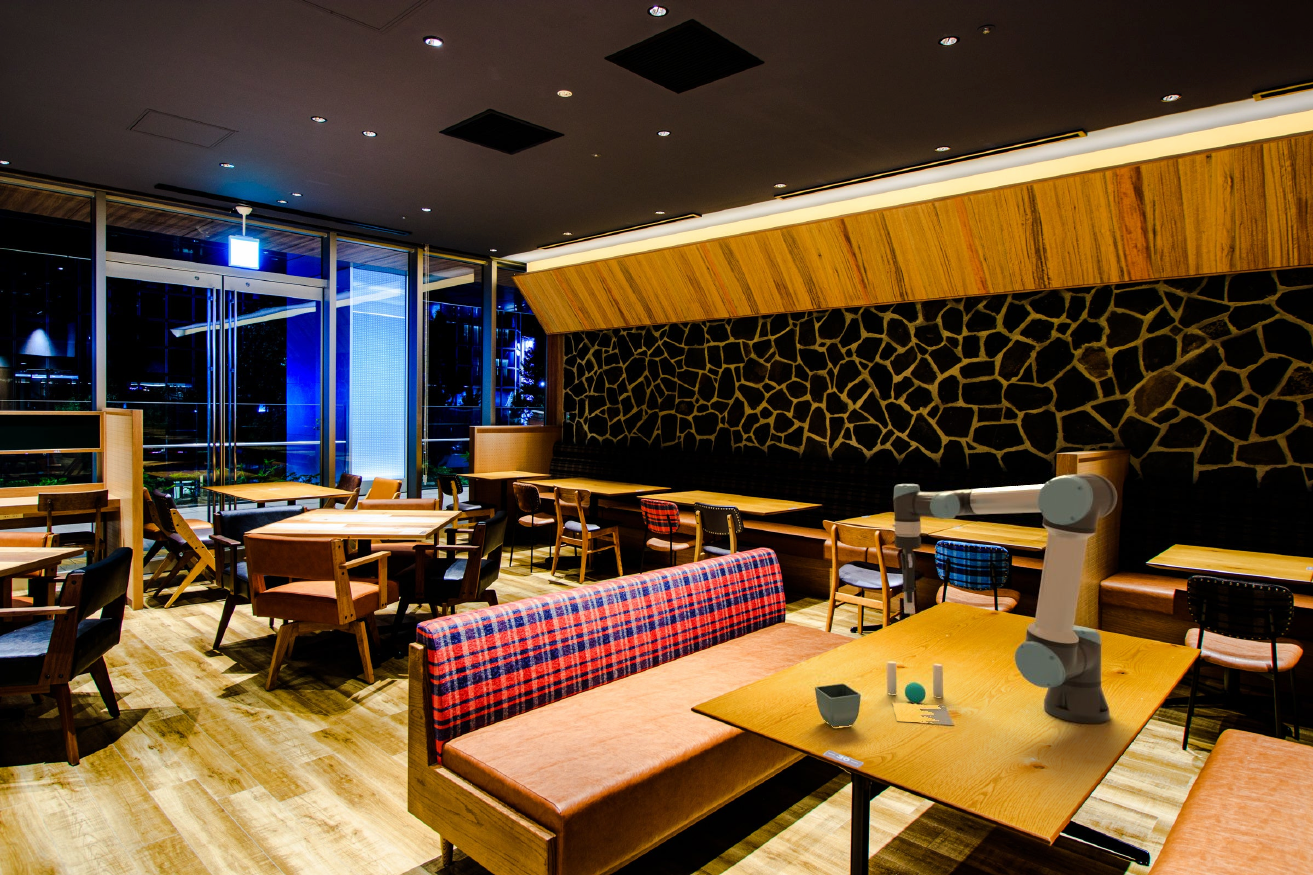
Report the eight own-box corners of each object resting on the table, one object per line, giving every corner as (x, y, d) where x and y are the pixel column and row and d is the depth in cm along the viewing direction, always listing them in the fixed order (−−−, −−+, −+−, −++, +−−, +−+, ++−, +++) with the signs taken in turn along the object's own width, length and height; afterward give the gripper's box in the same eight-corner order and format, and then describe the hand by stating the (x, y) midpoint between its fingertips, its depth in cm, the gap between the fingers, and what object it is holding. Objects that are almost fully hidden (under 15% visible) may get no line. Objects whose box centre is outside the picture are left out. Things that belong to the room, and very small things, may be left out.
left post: (897, 695, 207) (896, 664, 207) (887, 694, 207) (887, 663, 207) (896, 692, 209) (895, 661, 209) (886, 691, 210) (886, 660, 210)
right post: (943, 698, 204) (943, 666, 204) (934, 697, 205) (933, 666, 205) (942, 695, 206) (941, 663, 206) (932, 694, 207) (932, 663, 207)
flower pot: (831, 733, 181) (830, 698, 181) (814, 720, 189) (813, 686, 189) (862, 729, 183) (861, 694, 183) (844, 716, 192) (843, 682, 192)
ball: (925, 701, 203) (927, 705, 198) (904, 700, 204) (906, 704, 199) (923, 681, 204) (925, 684, 198) (903, 680, 205) (904, 683, 200)
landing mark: (954, 725, 185) (954, 724, 185) (896, 721, 188) (896, 720, 188) (944, 705, 199) (944, 705, 199) (891, 702, 202) (891, 701, 202)
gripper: (892, 532, 227) (894, 607, 227) (896, 537, 214) (898, 617, 214) (917, 532, 225) (919, 608, 225) (923, 537, 212) (925, 618, 212)
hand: (909, 612), depth 219 cm, fingers closed
